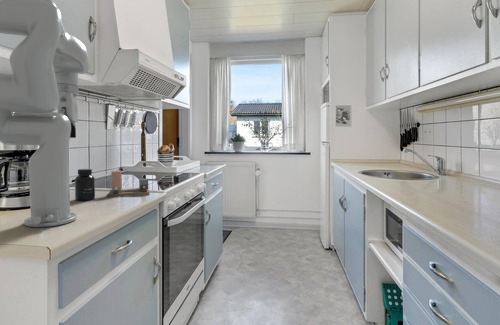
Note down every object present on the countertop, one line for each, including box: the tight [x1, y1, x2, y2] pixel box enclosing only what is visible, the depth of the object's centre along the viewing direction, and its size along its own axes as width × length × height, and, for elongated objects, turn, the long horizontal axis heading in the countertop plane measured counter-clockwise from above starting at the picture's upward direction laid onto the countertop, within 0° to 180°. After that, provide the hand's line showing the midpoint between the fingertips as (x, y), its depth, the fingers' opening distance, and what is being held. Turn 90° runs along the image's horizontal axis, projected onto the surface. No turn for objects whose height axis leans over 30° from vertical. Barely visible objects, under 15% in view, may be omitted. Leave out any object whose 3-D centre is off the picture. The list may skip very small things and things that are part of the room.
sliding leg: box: [110, 170, 122, 190], centre depth 126 cm, size 6×4×8 cm, turn 22°
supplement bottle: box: [74, 168, 96, 202], centre depth 117 cm, size 7×7×12 cm
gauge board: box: [107, 178, 150, 198], centre depth 129 cm, size 9×16×6 cm, turn 112°
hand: (68, 137), depth 111 cm, fingers open, 9 cm apart
